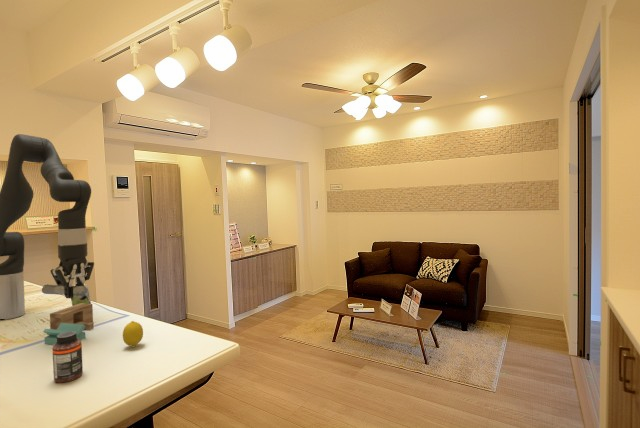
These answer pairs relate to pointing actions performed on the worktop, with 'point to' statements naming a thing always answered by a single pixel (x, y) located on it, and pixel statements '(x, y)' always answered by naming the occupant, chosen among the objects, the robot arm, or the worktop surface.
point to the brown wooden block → (73, 316)
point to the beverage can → (81, 298)
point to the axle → (60, 290)
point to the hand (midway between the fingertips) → (74, 296)
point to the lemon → (132, 333)
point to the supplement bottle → (67, 357)
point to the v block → (64, 328)
